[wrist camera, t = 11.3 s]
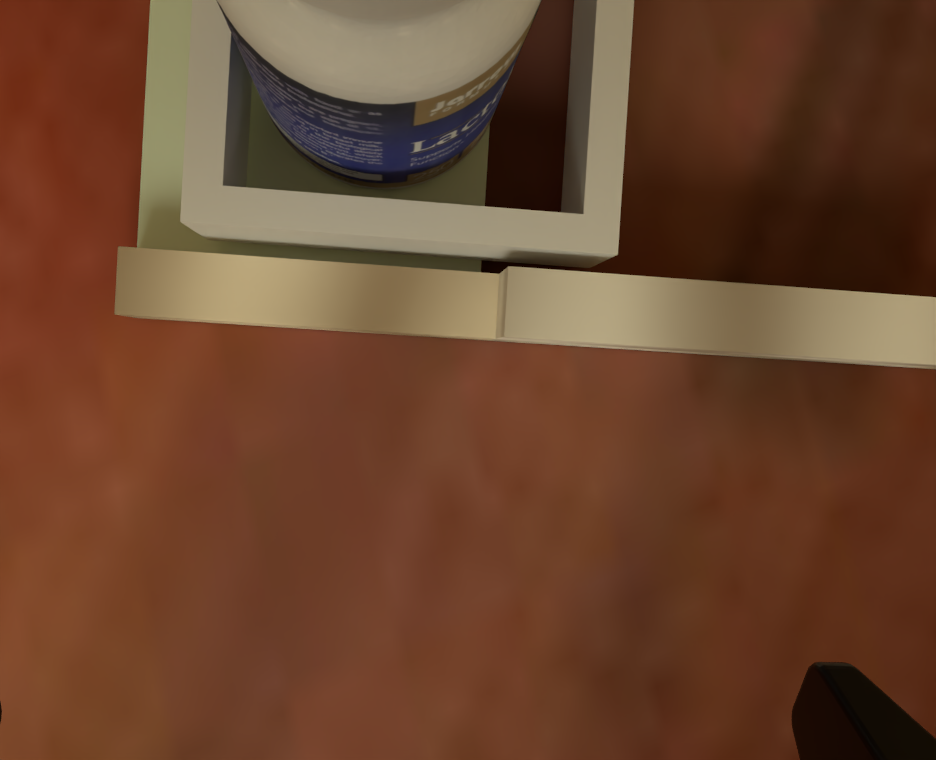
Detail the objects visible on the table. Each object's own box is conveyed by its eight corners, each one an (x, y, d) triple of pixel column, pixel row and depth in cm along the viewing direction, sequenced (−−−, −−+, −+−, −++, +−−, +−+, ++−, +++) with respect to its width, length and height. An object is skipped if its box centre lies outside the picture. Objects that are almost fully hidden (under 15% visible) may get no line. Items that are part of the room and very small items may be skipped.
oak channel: (1236, -93, 22) (1370, -165, 19) (1200, 386, 22) (1326, 389, 19) (165, -227, 19) (123, -335, 16) (135, 317, 19) (89, 309, 16)
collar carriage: (613, -108, 20) (645, -176, 17) (589, 268, 20) (617, 254, 17) (229, -153, 19) (204, -231, 16) (208, 240, 19) (180, 221, 16)
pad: (503, -116, 20) (504, -121, 20) (480, 273, 20) (480, 272, 20) (161, -156, 19) (159, -162, 19) (139, 249, 19) (136, 247, 19)
